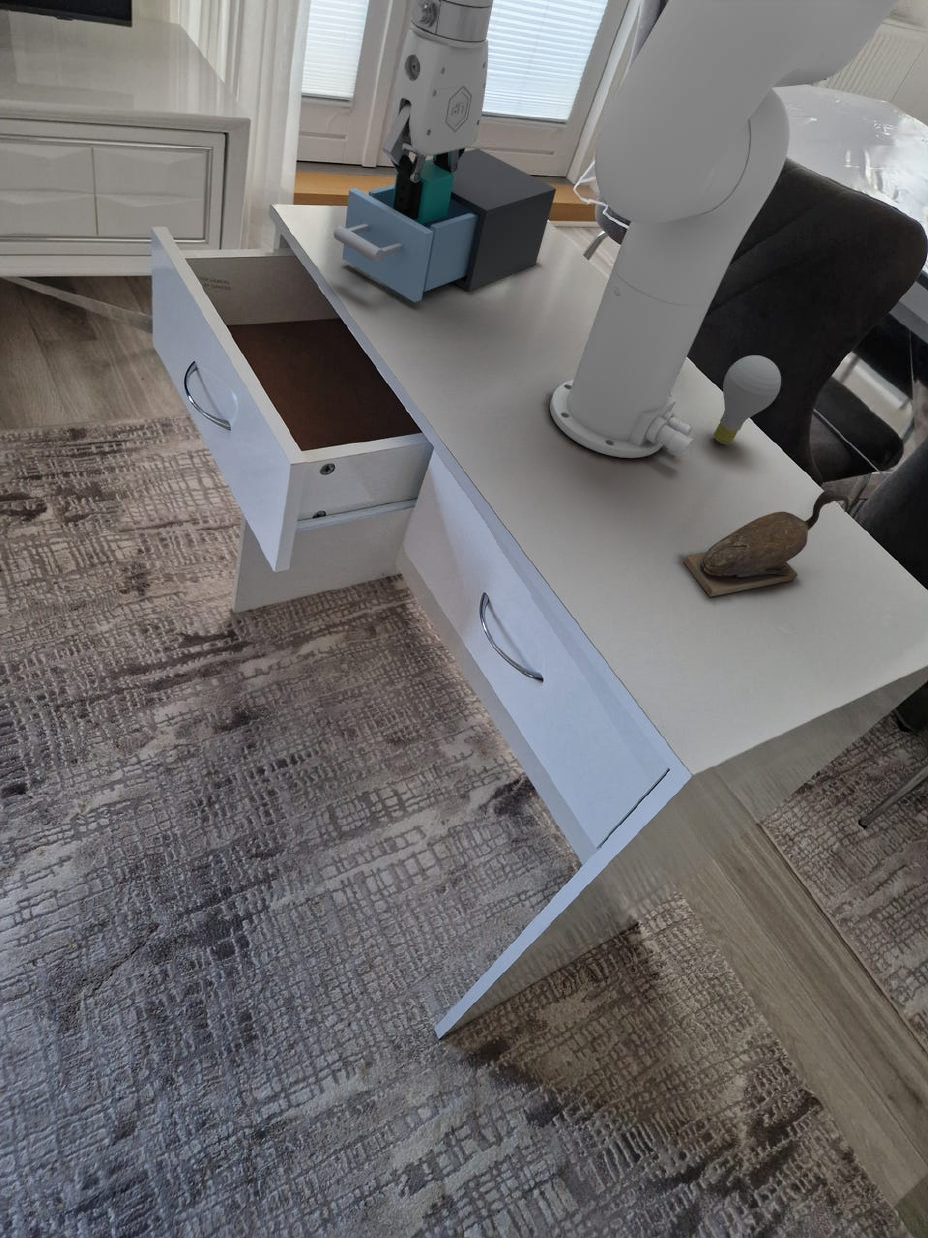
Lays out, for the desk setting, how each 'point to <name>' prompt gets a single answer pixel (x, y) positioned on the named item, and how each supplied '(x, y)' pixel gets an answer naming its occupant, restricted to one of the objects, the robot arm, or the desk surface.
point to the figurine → (757, 551)
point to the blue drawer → (406, 243)
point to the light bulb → (746, 393)
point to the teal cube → (433, 193)
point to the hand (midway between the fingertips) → (420, 208)
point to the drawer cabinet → (500, 216)
